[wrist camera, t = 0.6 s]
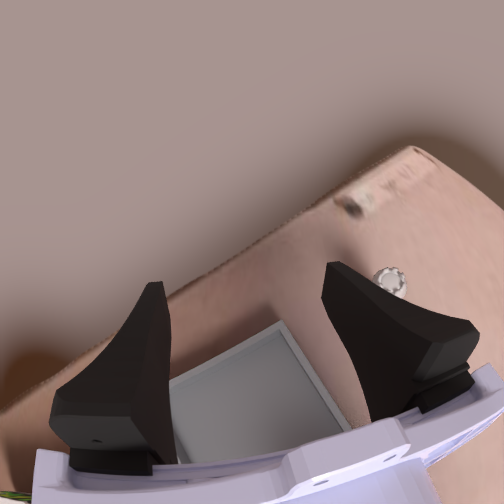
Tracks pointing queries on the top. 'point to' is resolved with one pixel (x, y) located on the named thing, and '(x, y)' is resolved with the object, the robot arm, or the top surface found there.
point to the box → (251, 402)
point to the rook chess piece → (391, 281)
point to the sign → (15, 497)
